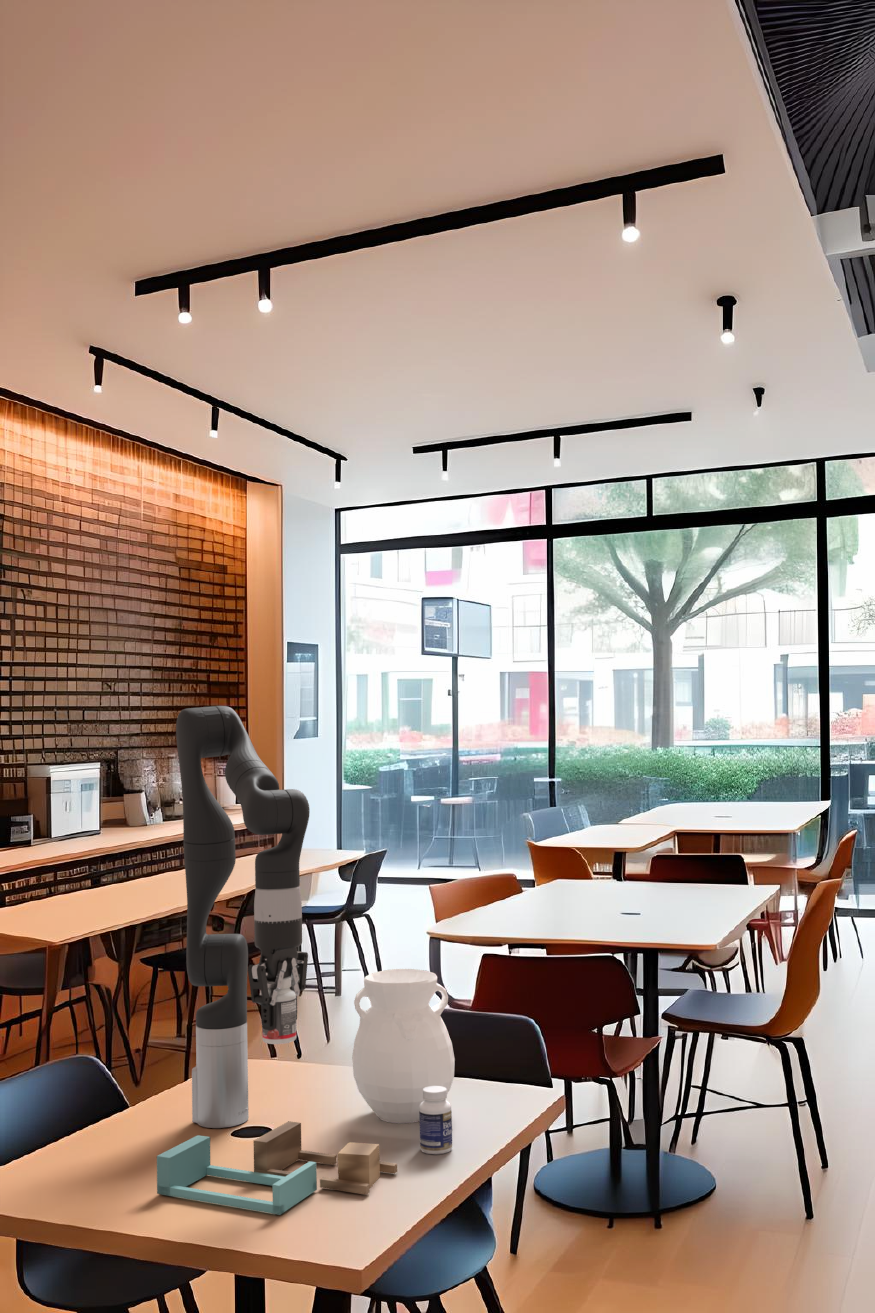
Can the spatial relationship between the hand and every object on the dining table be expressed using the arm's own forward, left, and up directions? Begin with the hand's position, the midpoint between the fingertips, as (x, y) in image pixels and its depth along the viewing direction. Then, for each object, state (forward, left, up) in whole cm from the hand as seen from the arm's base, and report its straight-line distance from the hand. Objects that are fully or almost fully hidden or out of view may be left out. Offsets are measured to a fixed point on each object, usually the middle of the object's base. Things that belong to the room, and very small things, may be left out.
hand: (279, 1024), depth 179 cm
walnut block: (+12, +3, -23) cm, 27 cm away
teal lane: (-3, -8, -23) cm, 25 cm away
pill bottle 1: (0, 0, -3) cm, 3 cm away
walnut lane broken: (+6, +3, -23) cm, 24 cm away
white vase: (+4, +34, -24) cm, 42 cm away
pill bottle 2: (+17, +20, -24) cm, 35 cm away
